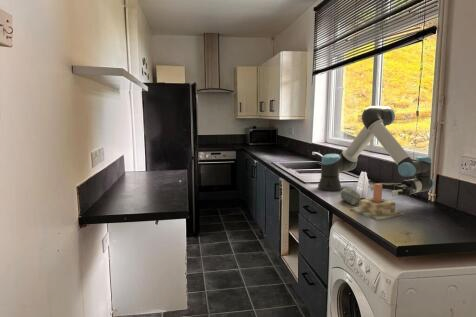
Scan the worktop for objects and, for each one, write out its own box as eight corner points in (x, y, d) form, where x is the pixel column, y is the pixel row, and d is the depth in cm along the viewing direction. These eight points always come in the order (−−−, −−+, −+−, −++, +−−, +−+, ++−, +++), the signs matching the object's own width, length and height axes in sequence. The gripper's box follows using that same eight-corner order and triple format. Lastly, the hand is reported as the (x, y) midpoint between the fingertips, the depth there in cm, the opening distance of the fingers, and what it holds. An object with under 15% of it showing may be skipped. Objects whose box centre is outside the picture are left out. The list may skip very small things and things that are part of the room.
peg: (370, 210, 168) (372, 183, 166) (376, 209, 169) (377, 183, 167) (376, 212, 164) (378, 185, 162) (382, 211, 166) (384, 184, 164)
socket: (350, 210, 171) (351, 199, 170) (375, 205, 179) (376, 195, 178) (377, 220, 155) (378, 208, 154) (403, 215, 162) (404, 203, 161)
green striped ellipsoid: (334, 194, 192) (344, 180, 188) (348, 200, 194) (357, 187, 190) (341, 205, 179) (352, 191, 176) (355, 212, 181) (366, 198, 178)
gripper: (431, 198, 163) (401, 203, 155) (390, 188, 186) (362, 192, 178) (432, 184, 162) (402, 188, 154) (391, 175, 185) (363, 179, 177)
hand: (381, 190), depth 166 cm, fingers open, 13 cm apart
